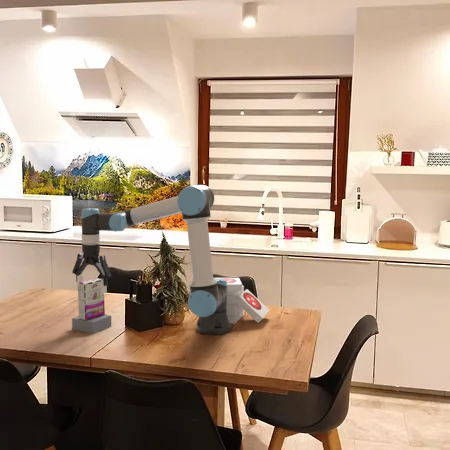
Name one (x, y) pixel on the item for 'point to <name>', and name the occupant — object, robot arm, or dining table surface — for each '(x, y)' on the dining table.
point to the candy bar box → (90, 299)
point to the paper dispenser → (242, 302)
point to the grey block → (91, 324)
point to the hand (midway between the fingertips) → (92, 291)
